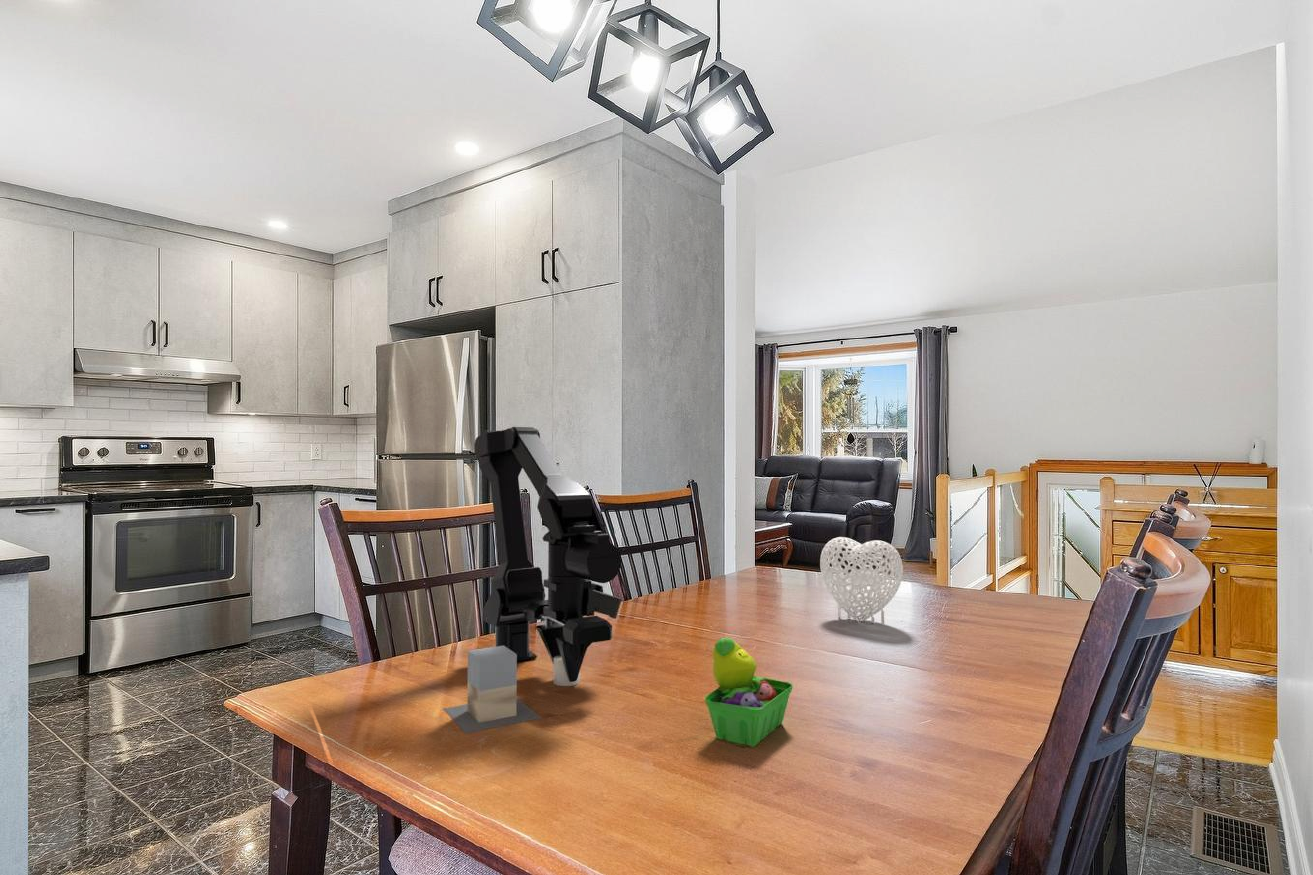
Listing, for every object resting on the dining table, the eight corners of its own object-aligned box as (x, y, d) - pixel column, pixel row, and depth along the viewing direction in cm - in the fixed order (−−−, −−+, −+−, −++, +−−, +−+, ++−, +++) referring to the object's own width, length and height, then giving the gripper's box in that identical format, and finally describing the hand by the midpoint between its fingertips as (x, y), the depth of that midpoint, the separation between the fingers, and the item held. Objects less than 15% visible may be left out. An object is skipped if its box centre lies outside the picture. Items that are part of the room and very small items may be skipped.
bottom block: (467, 710, 97) (467, 680, 97) (503, 704, 99) (503, 674, 99) (479, 722, 93) (479, 691, 93) (516, 715, 95) (516, 684, 95)
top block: (467, 680, 97) (467, 650, 97) (503, 674, 99) (503, 645, 100) (479, 691, 93) (479, 659, 93) (516, 684, 95) (516, 654, 95)
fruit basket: (759, 753, 84) (759, 656, 85) (692, 737, 89) (693, 645, 89) (795, 723, 94) (795, 635, 94) (733, 710, 99) (733, 626, 99)
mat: (443, 711, 98) (443, 708, 98) (514, 698, 103) (514, 695, 103) (465, 736, 89) (465, 733, 89) (541, 721, 94) (541, 718, 94)
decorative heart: (913, 624, 147) (913, 540, 148) (887, 633, 140) (887, 545, 140) (836, 610, 160) (836, 533, 161) (808, 618, 153) (808, 537, 153)
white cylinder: (549, 683, 110) (549, 656, 110) (573, 678, 112) (573, 652, 112) (559, 690, 106) (560, 663, 107) (584, 685, 109) (584, 659, 109)
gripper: (644, 578, 106) (644, 685, 105) (588, 561, 122) (588, 655, 121) (574, 585, 100) (574, 699, 100) (525, 566, 116) (525, 665, 116)
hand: (566, 677), depth 109 cm, fingers closed on white cylinder, 4 cm apart
